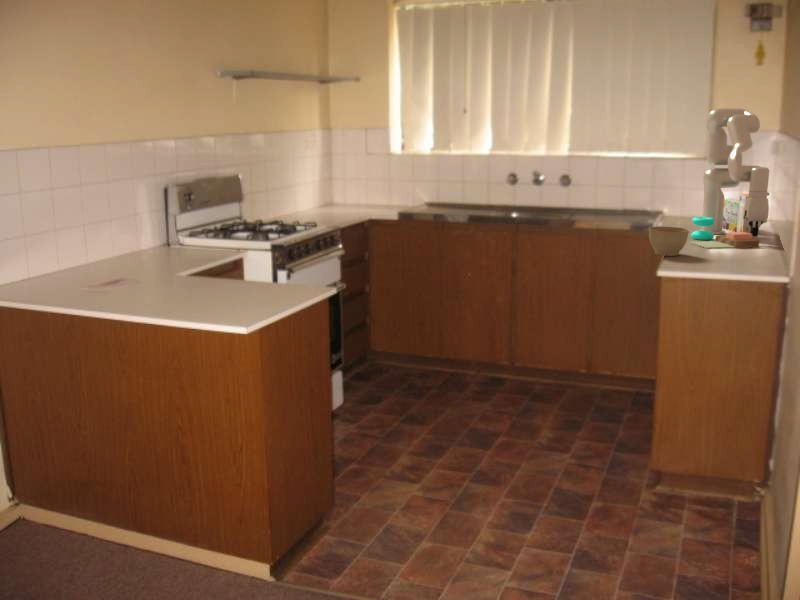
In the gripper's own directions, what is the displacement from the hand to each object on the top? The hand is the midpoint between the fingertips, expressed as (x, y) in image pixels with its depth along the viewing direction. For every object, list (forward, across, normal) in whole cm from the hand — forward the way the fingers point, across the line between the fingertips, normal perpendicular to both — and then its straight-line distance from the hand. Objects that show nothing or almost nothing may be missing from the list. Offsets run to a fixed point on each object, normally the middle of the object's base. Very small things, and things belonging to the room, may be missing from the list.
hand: (754, 235), depth 379 cm
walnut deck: (+4, +8, 0) cm, 9 cm away
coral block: (0, +7, 0) cm, 7 cm away
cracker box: (+4, -4, -14) cm, 15 cm away
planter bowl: (+4, +51, +19) cm, 54 cm away
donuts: (+4, +14, -19) cm, 24 cm away
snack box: (+4, -16, -42) cm, 45 cm away
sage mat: (+4, +20, 0) cm, 21 cm away
